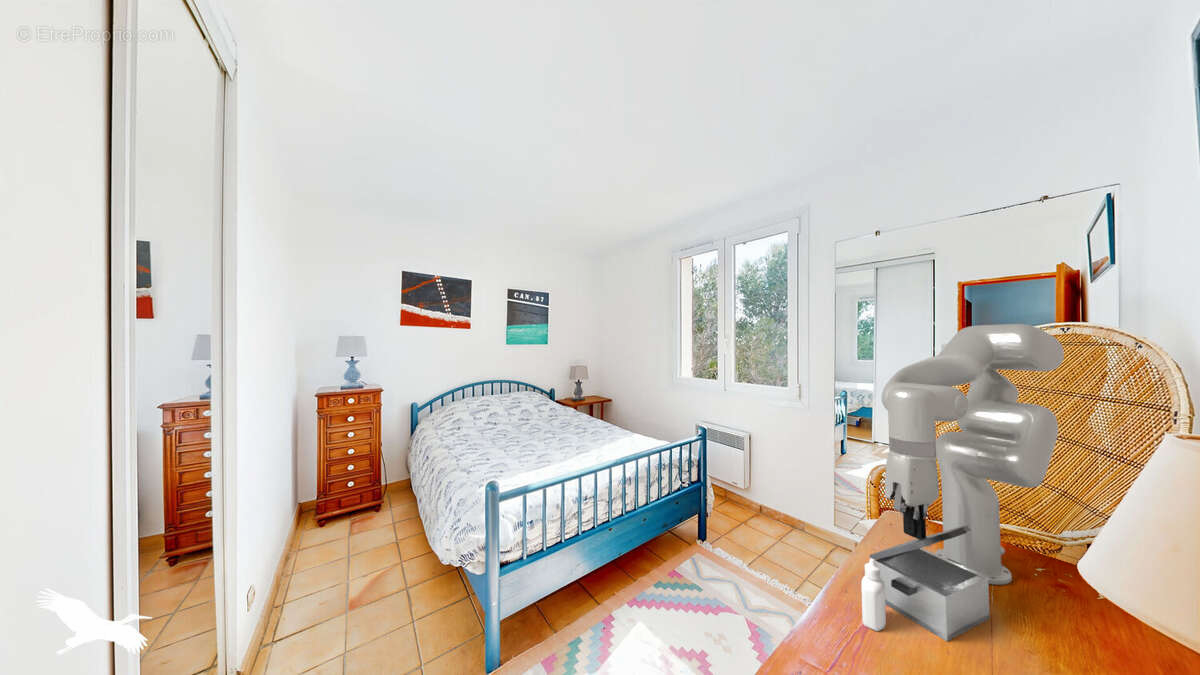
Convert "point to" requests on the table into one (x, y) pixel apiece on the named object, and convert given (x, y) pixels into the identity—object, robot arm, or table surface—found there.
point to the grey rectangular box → (935, 592)
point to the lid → (921, 542)
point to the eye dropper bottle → (873, 597)
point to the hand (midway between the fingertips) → (914, 535)
